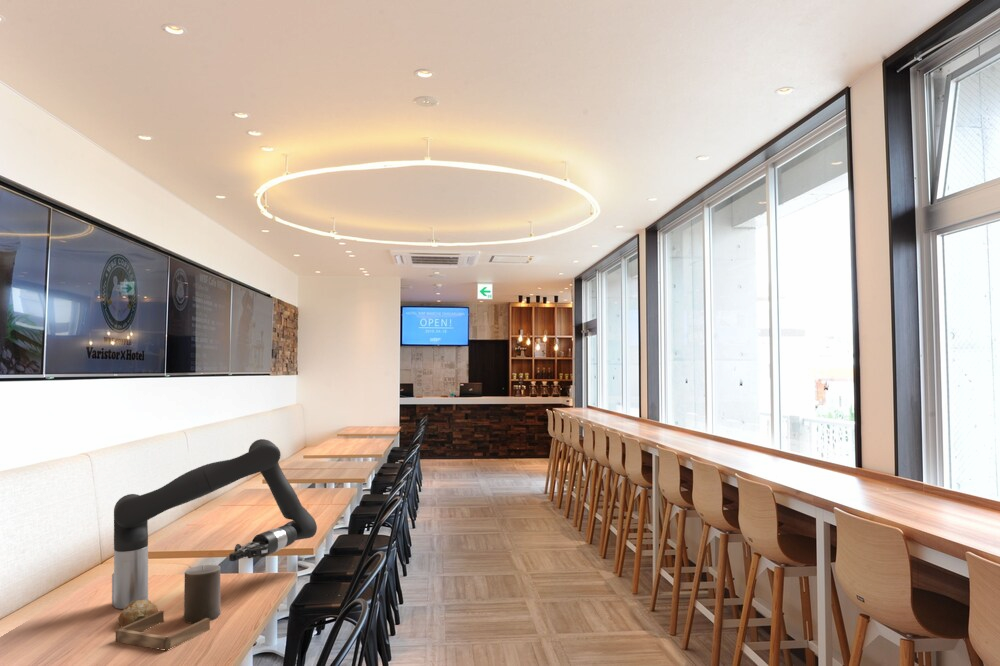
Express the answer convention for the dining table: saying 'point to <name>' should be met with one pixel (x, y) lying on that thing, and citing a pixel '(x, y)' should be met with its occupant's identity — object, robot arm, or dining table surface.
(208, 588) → the pillar candle
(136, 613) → the bread roll
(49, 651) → the dining table surface
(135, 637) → the brown wooden u-shaped frame
